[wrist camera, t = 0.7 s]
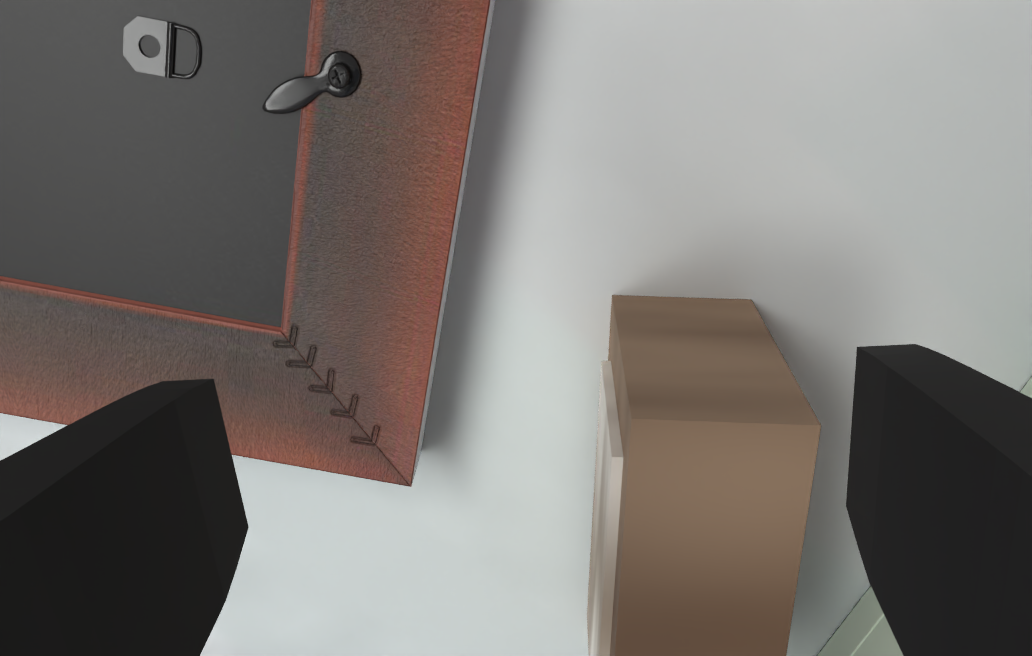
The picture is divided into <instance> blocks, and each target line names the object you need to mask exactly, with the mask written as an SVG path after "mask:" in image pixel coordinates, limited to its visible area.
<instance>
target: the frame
mask: <svg viewBox="0 0 1032 656" xmlns="http://www.w3.org/2000/svg"><path fill="white" fill-rule="evenodd" d="M820 430H821V424H820V423H819V421H818V419H817V417H816V415H815V414H814V412H813V410H812V408H811V406H810V405H809V403H808V401H807V399H806V397H805V396H804V394H803V392H802V390H801V388H800V387H799V385H798V383H797V381H796V379H795V378H794V376H793V374H792V372H791V370H790V369H789V367H788V365H787V363H786V361H785V360H784V358H783V356H782V354H781V352H780V351H779V349H778V347H777V345H776V343H775V341H774V340H773V338H772V336H771V334H770V332H769V331H768V329H767V327H766V325H765V323H764V322H763V320H762V318H761V316H760V314H759V313H758V311H757V309H756V307H755V305H754V304H753V302H752V300H747V299H716V298H685V297H654V296H623V295H612V304H611V321H610V337H609V354H608V361H601V378H600V395H599V413H598V430H597V448H596V465H595V483H594V500H593V518H592V535H591V553H590V570H589V588H588V606H587V626H588V648H589V656H786V653H787V646H788V640H789V633H790V627H791V620H792V613H793V607H794V600H795V594H796V587H797V581H798V574H799V568H800V561H801V554H802V548H803V541H804V535H805V528H806V522H807V515H808V509H809V502H810V495H811V489H812V482H813V476H814V469H815V463H816V456H817V449H818V443H819V436H820Z"/></svg>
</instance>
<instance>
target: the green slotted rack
mask: <svg viewBox="0 0 1032 656" xmlns="http://www.w3.org/2000/svg"><path fill="white" fill-rule="evenodd" d="M1020 393H1022V394H1024V395H1026V396H1028V397H1031V398H1032V377H1031V378H1030V380H1029V381H1028V382H1027V384H1026V385H1025V386H1024V388H1023V389H1022V390H1021V391H1020ZM817 656H903V654H902V652H901V650H900V648H899V645H898V643H897V641H896V639H895V637H894V635H893V633H892V630H891V628H890V626H889V624H888V622H887V620H886V618H885V615H884V613H883V611H882V609H881V607H880V605H879V602H878V600H877V598H876V596H875V594H874V591H873V589H872V587H871V586H870V588H869V589H868V590H867V592H866V593H865V594H864V596H863V597H862V598H861V599H860V601H859V602H858V603H857V605H856V606H855V607H854V609H853V610H852V611H851V612H850V614H849V615H848V616H847V618H846V619H845V620H844V622H843V623H842V624H841V625H840V627H839V628H838V629H837V631H836V632H835V633H834V635H833V636H832V637H831V638H830V640H829V641H828V642H827V644H826V645H825V646H824V648H823V649H822V650H821V651H820V653H819V654H818V655H817Z"/></svg>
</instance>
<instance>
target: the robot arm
mask: <svg viewBox="0 0 1032 656" xmlns="http://www.w3.org/2000/svg"><path fill="white" fill-rule="evenodd" d="M846 507H847V510H848V514H849V517H850V521H851V524H852V528H853V531H854V535H855V538H856V541H857V545H858V548H859V551H860V555H861V558H862V561H863V564H864V567H865V570H866V573H867V576H868V580H869V583H870V585H871V587H872V589H873V591H874V594H875V596H876V598H877V600H878V602H879V605H880V607H881V609H882V611H883V613H884V615H885V618H886V620H887V622H888V624H889V626H890V628H891V630H892V633H893V635H894V637H895V639H896V641H897V643H898V645H899V648H900V650H901V652H902V654H903V656H1032V398H1031V397H1028V396H1026V395H1024V394H1022V393H1020V392H1018V391H1016V390H1014V389H1012V388H1010V387H1008V386H1006V385H1004V384H1002V383H1000V382H998V381H996V380H994V379H992V378H990V377H988V376H986V375H984V374H982V373H980V372H978V371H976V370H974V369H972V368H970V367H968V366H966V365H964V364H962V363H960V362H958V361H956V360H953V359H951V358H949V357H947V356H945V355H943V354H940V353H938V352H936V351H933V350H931V349H928V348H925V347H922V346H919V345H916V344H909V345H889V346H868V347H857V356H856V370H855V385H854V399H853V414H852V428H851V443H850V457H849V472H848V486H847V500H846ZM247 530H248V523H247V519H246V515H245V510H244V506H243V502H242V498H241V493H240V489H239V485H238V480H237V476H236V472H235V468H234V463H233V459H232V455H231V450H230V446H229V442H228V437H227V433H226V429H225V425H224V420H223V416H222V412H221V407H220V403H219V399H218V395H217V390H216V386H215V382H214V379H196V380H176V381H162V382H159V383H156V384H153V385H150V386H147V387H145V388H142V389H140V390H138V391H135V392H133V393H131V394H129V395H126V396H124V397H122V398H120V399H118V400H116V401H114V402H112V403H110V404H108V405H106V406H104V407H102V408H100V409H98V410H96V411H94V412H92V413H90V414H89V415H87V416H85V417H83V418H81V419H79V420H77V421H75V422H73V423H71V424H70V425H68V426H66V427H64V428H62V429H60V430H58V431H56V432H54V433H52V434H51V435H49V436H47V437H45V438H43V439H41V440H39V441H37V442H35V443H34V444H32V445H30V446H28V447H26V448H24V449H22V450H20V451H18V452H17V453H15V454H13V455H11V456H9V457H7V458H5V459H3V460H1V461H0V656H200V654H201V652H202V650H203V648H204V646H205V643H206V641H207V639H208V637H209V635H210V633H211V631H212V629H213V627H214V625H215V623H216V620H217V618H218V616H219V614H220V612H221V610H222V607H223V605H224V603H225V601H226V598H227V595H228V592H229V589H230V586H231V583H232V580H233V577H234V574H235V571H236V568H237V565H238V561H239V558H240V554H241V551H242V547H243V544H244V541H245V537H246V534H247Z"/></svg>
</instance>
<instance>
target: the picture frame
mask: <svg viewBox="0 0 1032 656" xmlns="http://www.w3.org/2000/svg"><path fill="white" fill-rule="evenodd" d="M494 6H495V0H0V413H3V414H9V415H15V416H20V417H26V418H31V419H37V420H42V421H48V422H54V423H59V424H65V425H70V424H71V423H73V422H75V421H77V420H79V419H81V418H83V417H85V416H87V415H89V414H90V413H92V412H94V411H96V410H98V409H100V408H102V407H104V406H106V405H108V404H110V403H112V402H114V401H116V400H118V399H120V398H122V397H124V396H126V395H129V394H131V393H133V392H135V391H138V390H140V389H142V388H145V387H147V386H150V385H153V384H156V383H159V382H162V381H176V380H196V379H214V382H215V386H216V390H217V395H218V399H219V403H220V407H221V412H222V416H223V420H224V425H225V429H226V433H227V437H228V442H229V446H230V450H231V454H232V455H237V456H243V457H249V458H254V459H260V460H265V461H271V462H276V463H282V464H288V465H293V466H299V467H304V468H310V469H315V470H321V471H327V472H332V473H338V474H343V475H349V476H354V477H360V478H366V479H371V480H377V481H382V482H388V483H393V484H399V485H405V486H410V487H411V486H412V482H413V479H414V475H415V472H416V468H417V464H418V461H419V457H420V453H421V449H422V443H423V437H424V431H425V425H426V419H427V413H428V407H429V401H430V394H431V388H432V382H433V376H434V370H435V364H436V358H437V352H438V346H439V340H440V334H441V328H442V322H443V316H444V310H445V303H446V297H447V291H448V285H449V279H450V273H451V267H452V261H453V255H454V249H455V243H456V237H457V231H458V225H459V218H460V212H461V206H462V200H463V194H464V188H465V182H466V176H467V170H468V164H469V158H470V152H471V146H472V140H473V133H474V127H475V121H476V115H477V109H478V103H479V97H480V91H481V85H482V79H483V73H484V67H485V61H486V55H487V48H488V42H489V36H490V30H491V24H492V18H493V12H494Z"/></svg>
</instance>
